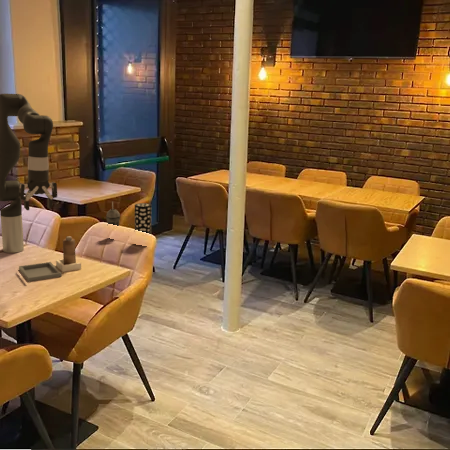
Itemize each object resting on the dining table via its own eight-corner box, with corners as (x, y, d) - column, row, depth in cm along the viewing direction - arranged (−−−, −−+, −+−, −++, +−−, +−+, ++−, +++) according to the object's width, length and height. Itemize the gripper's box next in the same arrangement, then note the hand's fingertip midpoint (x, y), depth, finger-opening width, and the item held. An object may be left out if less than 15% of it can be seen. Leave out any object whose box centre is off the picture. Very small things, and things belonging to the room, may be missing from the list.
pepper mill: (62, 266, 222) (61, 236, 219) (73, 264, 225) (72, 234, 221) (65, 269, 218) (64, 239, 215) (77, 267, 221) (76, 237, 217)
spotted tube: (142, 246, 259) (142, 207, 254) (131, 242, 264) (131, 204, 259) (154, 242, 266) (154, 205, 261) (143, 239, 270) (143, 202, 265)
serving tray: (19, 271, 216) (18, 266, 215) (50, 267, 223) (50, 261, 222) (28, 284, 203) (28, 278, 202) (61, 278, 210) (61, 272, 210)
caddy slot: (56, 267, 223) (56, 259, 222) (74, 264, 227) (74, 257, 226) (62, 273, 216) (62, 266, 215) (81, 271, 220) (81, 263, 219)
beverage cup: (121, 236, 275) (121, 199, 270) (119, 240, 268) (118, 202, 263) (107, 235, 275) (107, 199, 270) (105, 239, 268) (104, 202, 263)
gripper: (52, 166, 204) (52, 205, 209) (16, 166, 195) (16, 208, 199) (60, 169, 199) (59, 209, 203) (22, 170, 190) (23, 212, 194)
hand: (38, 209), depth 201 cm, fingers open, 8 cm apart
